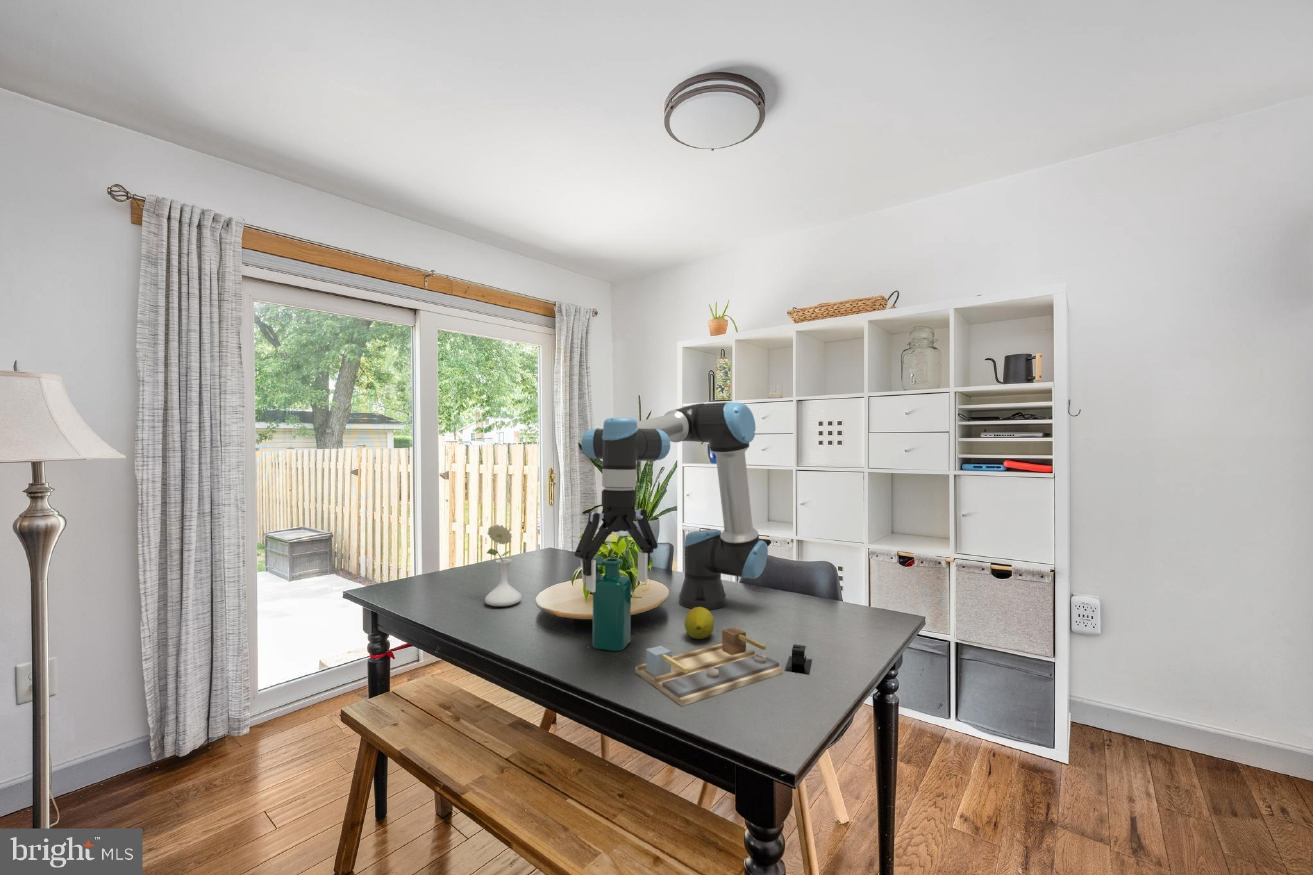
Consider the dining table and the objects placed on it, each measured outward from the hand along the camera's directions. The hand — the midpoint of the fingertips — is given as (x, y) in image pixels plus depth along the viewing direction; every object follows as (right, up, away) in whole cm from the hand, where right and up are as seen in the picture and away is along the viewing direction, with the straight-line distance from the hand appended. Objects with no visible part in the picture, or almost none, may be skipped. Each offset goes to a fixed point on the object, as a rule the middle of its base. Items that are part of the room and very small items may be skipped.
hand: (617, 586), depth 118 cm
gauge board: (+20, -21, +4) cm, 29 cm away
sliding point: (+11, -19, -2) cm, 23 cm away
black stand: (+42, -22, +9) cm, 48 cm away
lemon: (+20, -21, +25) cm, 38 cm away
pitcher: (-4, -21, +21) cm, 30 cm away
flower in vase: (-41, -21, +54) cm, 71 cm away
